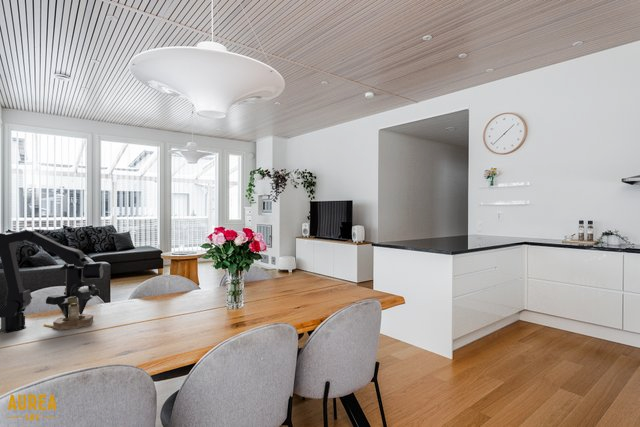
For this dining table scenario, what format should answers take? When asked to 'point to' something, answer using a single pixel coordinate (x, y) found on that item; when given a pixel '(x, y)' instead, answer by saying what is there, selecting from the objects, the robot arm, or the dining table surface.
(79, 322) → the brown octagonal ring
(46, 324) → the thin yellow rod
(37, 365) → the dining table surface
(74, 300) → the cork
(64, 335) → the dining table surface
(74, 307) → the beige wooden peg
